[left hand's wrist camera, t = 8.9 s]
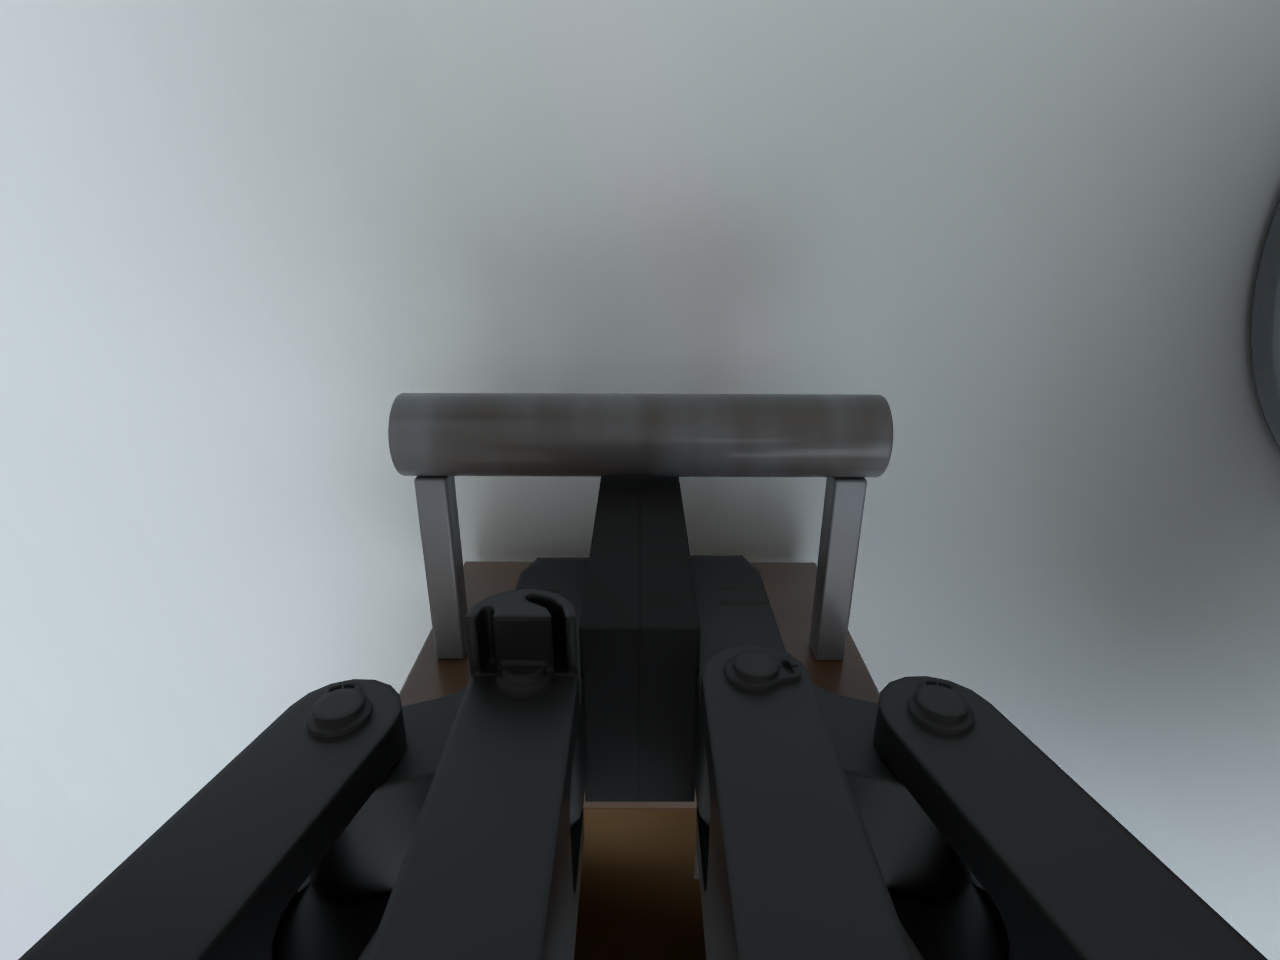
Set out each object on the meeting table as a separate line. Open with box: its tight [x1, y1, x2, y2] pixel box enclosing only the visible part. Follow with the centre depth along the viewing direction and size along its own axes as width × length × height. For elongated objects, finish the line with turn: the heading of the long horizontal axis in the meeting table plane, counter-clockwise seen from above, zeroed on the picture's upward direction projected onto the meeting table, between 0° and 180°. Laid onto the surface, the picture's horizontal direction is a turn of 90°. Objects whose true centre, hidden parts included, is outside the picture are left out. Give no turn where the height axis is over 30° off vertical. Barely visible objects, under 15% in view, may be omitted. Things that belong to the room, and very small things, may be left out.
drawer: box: [388, 393, 893, 960], centre depth 17 cm, size 26×9×7 cm, turn 0°
